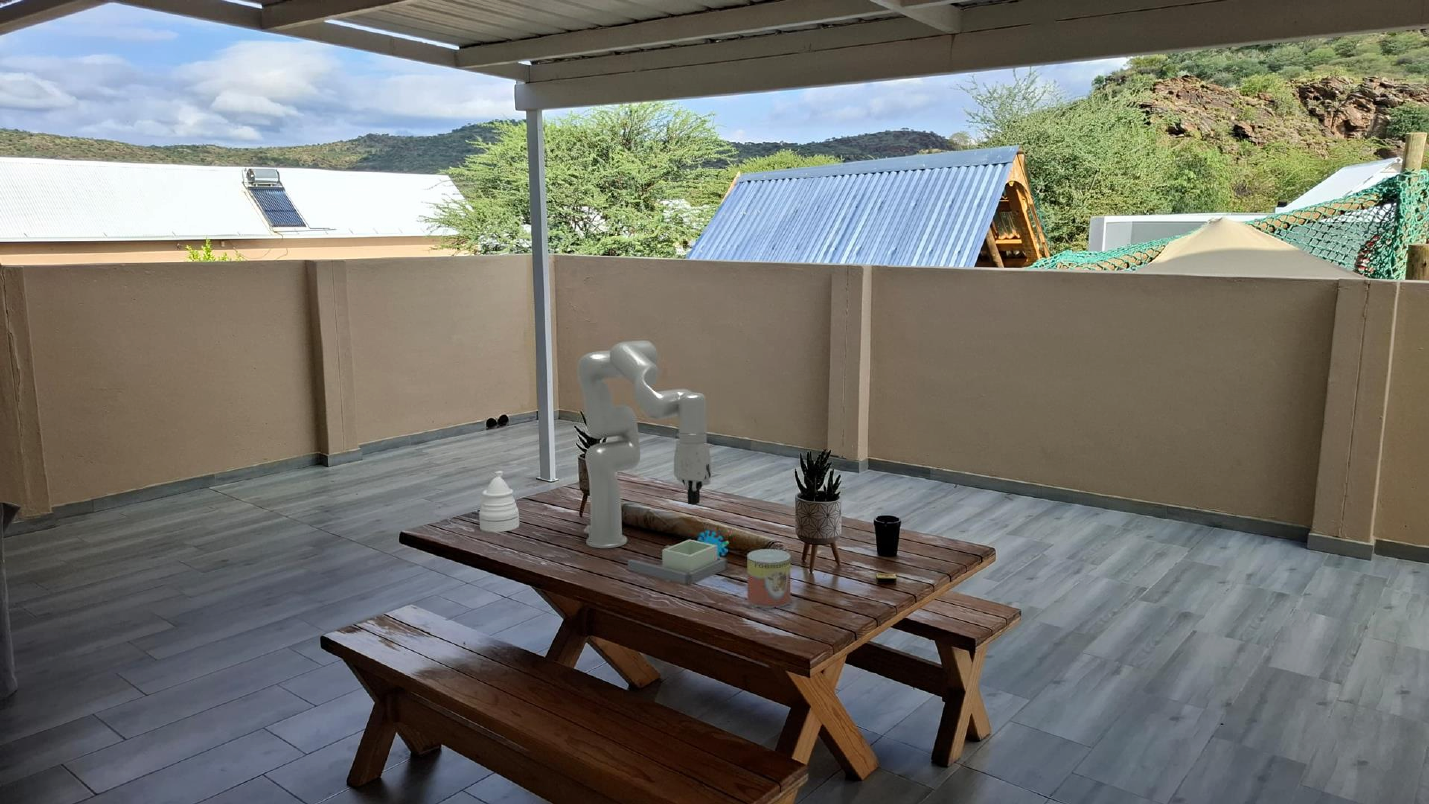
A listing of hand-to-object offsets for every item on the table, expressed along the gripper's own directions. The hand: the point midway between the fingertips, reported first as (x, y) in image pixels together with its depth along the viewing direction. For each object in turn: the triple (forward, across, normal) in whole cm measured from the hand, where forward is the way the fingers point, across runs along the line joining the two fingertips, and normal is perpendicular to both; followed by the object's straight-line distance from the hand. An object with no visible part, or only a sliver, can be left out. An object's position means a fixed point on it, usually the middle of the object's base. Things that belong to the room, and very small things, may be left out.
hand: (693, 503), depth 270 cm
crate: (+20, -2, 0) cm, 20 cm away
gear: (+21, -6, +17) cm, 28 cm away
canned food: (+21, +27, -3) cm, 34 cm away
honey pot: (+21, -84, +2) cm, 87 cm away
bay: (+21, -6, 0) cm, 22 cm away
